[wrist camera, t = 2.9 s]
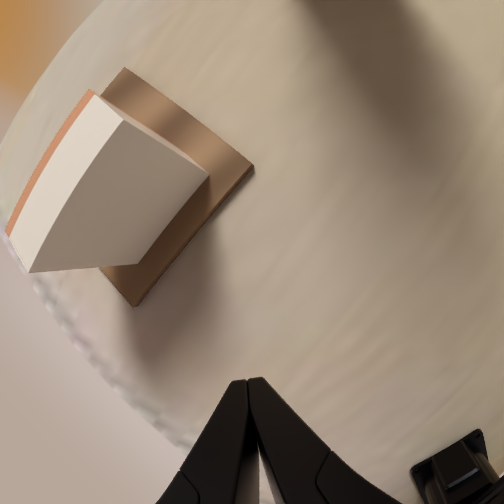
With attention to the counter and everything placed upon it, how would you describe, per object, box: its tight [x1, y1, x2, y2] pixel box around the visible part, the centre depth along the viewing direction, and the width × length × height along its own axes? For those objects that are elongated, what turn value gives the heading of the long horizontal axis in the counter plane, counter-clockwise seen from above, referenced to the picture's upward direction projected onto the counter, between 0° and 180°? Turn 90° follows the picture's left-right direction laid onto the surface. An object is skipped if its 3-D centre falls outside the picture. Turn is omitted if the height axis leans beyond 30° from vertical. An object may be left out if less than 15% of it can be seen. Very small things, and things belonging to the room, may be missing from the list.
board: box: [100, 67, 254, 307], centre depth 22 cm, size 15×13×1 cm
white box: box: [5, 89, 209, 273], centre depth 16 cm, size 3×8×10 cm, turn 138°
